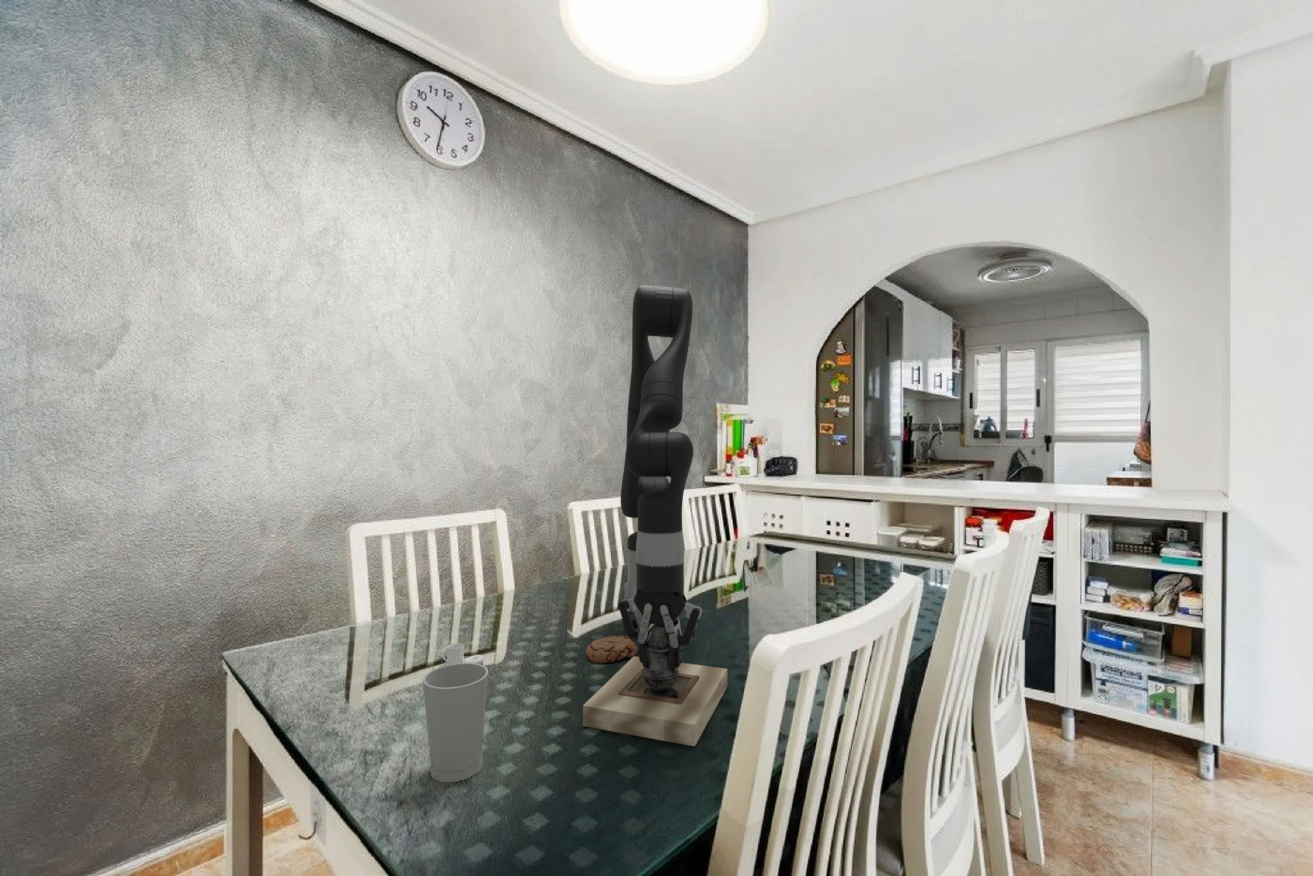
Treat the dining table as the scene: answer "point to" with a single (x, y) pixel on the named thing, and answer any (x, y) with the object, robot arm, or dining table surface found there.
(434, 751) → the cup
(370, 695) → the dining table surface
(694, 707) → the birch frame
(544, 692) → the dining table surface
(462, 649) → the teacup and saucer
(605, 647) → the cookie
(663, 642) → the dark grey tall piece
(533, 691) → the dining table surface
